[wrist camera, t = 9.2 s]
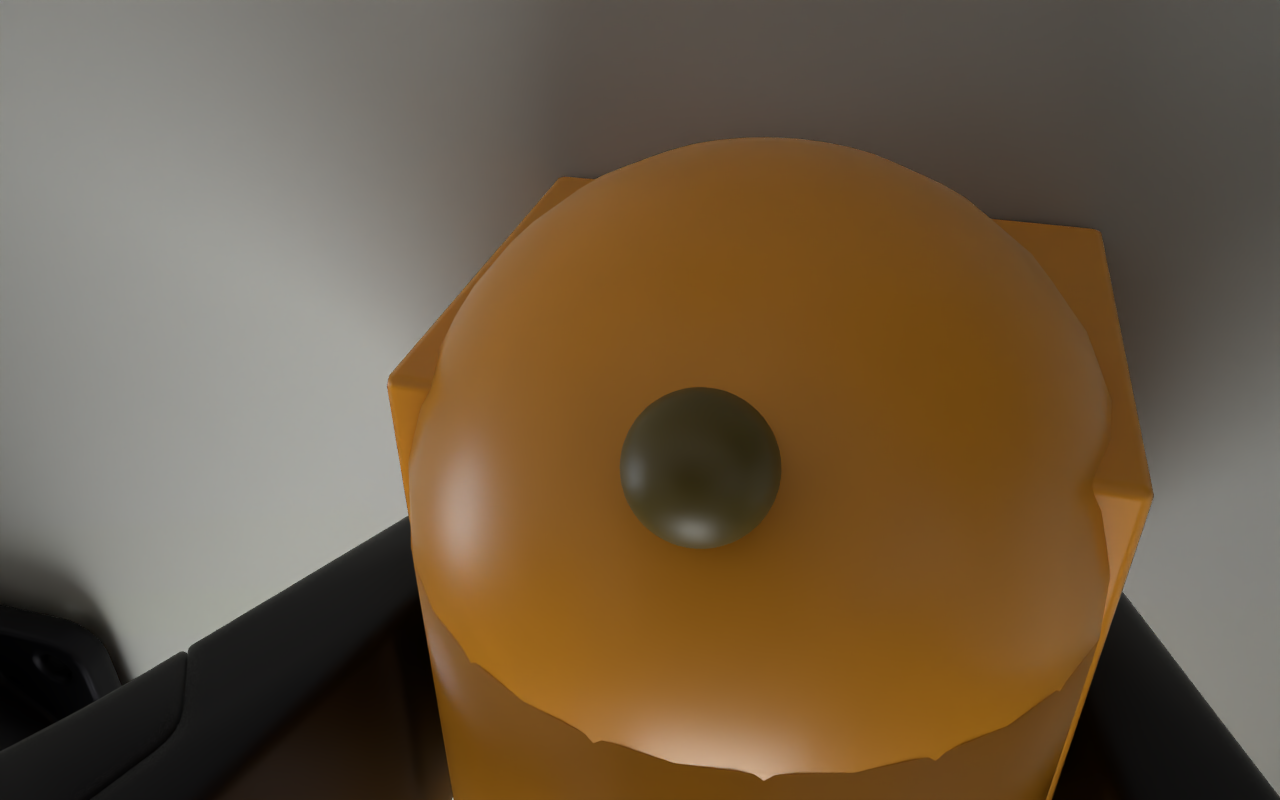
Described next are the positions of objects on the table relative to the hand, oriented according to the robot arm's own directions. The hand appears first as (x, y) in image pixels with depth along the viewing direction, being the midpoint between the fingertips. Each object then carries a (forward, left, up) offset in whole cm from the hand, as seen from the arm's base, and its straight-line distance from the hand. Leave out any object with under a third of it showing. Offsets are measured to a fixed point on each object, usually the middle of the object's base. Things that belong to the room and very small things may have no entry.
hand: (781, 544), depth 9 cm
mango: (0, 0, -1) cm, 1 cm away
